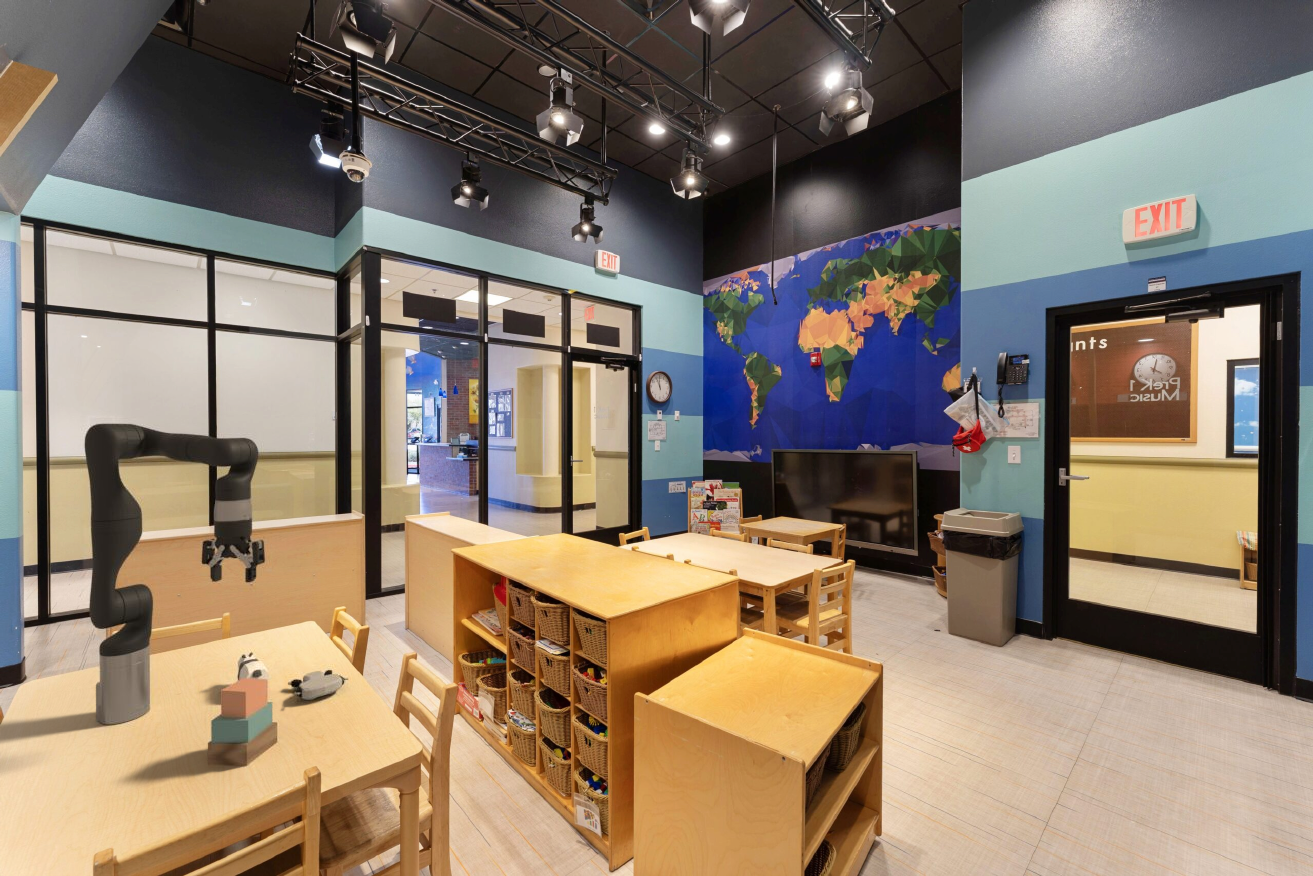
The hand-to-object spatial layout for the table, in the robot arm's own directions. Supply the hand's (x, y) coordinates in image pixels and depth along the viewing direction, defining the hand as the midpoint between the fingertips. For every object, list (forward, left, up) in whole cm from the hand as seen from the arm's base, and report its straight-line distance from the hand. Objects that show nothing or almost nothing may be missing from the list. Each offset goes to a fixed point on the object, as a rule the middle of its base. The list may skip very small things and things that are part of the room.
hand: (233, 581), depth 136 cm
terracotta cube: (+12, -12, -26) cm, 31 cm away
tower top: (+12, -12, -31) cm, 36 cm away
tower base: (+12, -12, -36) cm, 40 cm away
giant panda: (-8, +16, -36) cm, 40 cm away
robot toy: (+11, +16, -36) cm, 41 cm away
